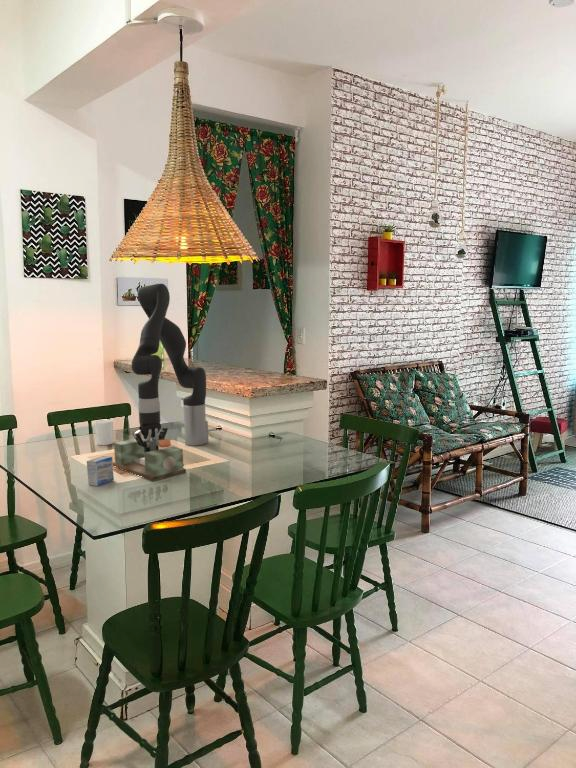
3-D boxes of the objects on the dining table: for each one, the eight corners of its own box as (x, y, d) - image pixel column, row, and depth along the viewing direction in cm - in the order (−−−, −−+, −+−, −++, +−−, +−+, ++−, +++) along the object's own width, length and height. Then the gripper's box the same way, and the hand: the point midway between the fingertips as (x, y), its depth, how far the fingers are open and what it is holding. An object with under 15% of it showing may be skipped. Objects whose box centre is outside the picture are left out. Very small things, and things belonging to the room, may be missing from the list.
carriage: (159, 463, 237) (158, 438, 236) (168, 466, 233) (167, 441, 231) (140, 467, 232) (139, 442, 230) (149, 470, 227) (147, 444, 226)
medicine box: (97, 486, 216) (95, 461, 215) (87, 485, 218) (86, 460, 217) (114, 480, 223) (112, 456, 222) (104, 478, 225) (103, 455, 224)
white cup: (106, 440, 284) (105, 418, 282) (118, 442, 279) (116, 420, 278) (92, 444, 278) (90, 421, 276) (103, 446, 273) (102, 423, 272)
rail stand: (145, 459, 250) (144, 436, 249) (186, 473, 230) (185, 448, 229) (112, 466, 241) (111, 443, 240) (152, 481, 220) (151, 456, 219)
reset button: (166, 444, 228) (166, 438, 228) (172, 445, 225) (172, 440, 225) (156, 446, 225) (156, 440, 225) (163, 447, 222) (162, 442, 222)
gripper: (160, 406, 238) (162, 451, 240) (126, 411, 228) (129, 458, 231) (171, 408, 232) (173, 454, 235) (137, 414, 223) (140, 462, 225)
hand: (151, 456), depth 233 cm, fingers closed on carriage, 2 cm apart
